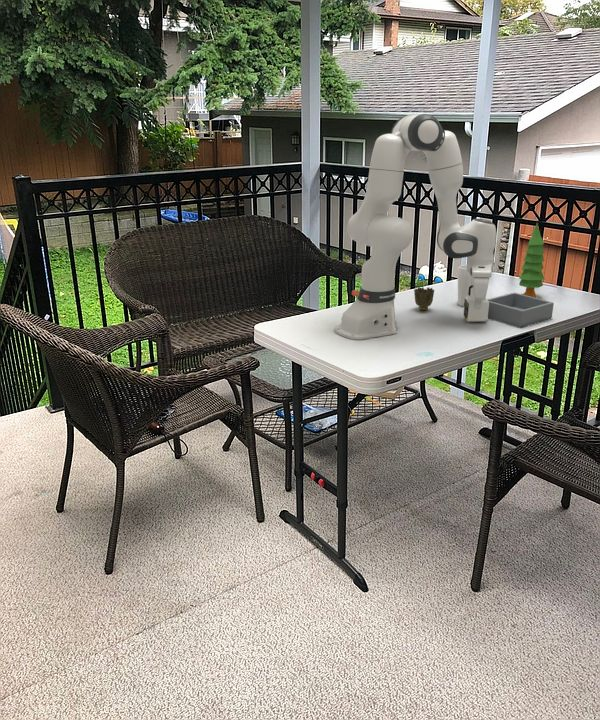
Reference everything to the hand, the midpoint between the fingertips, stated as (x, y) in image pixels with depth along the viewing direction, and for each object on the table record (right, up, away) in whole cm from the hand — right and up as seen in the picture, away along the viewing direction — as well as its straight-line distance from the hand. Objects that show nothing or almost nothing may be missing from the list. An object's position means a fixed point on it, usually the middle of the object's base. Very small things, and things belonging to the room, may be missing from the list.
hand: (476, 305), depth 224 cm
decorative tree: (+29, +5, +28) cm, 41 cm away
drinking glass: (+1, +2, +20) cm, 20 cm away
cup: (-16, -1, +15) cm, 22 cm away
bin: (+16, -4, +4) cm, 17 cm away
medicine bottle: (0, -5, +2) cm, 5 cm away
